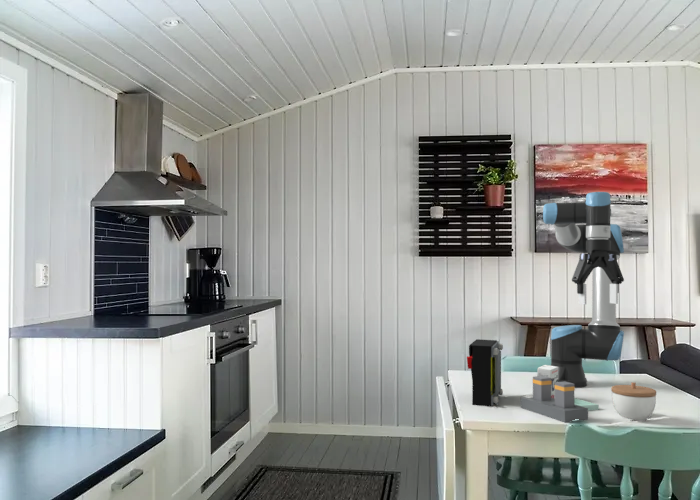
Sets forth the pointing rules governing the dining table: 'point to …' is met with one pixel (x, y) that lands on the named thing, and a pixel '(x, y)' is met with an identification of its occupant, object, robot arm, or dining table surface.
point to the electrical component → (485, 371)
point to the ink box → (549, 375)
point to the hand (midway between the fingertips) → (598, 303)
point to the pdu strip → (550, 403)
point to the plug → (564, 394)
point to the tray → (586, 404)
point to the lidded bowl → (633, 401)
